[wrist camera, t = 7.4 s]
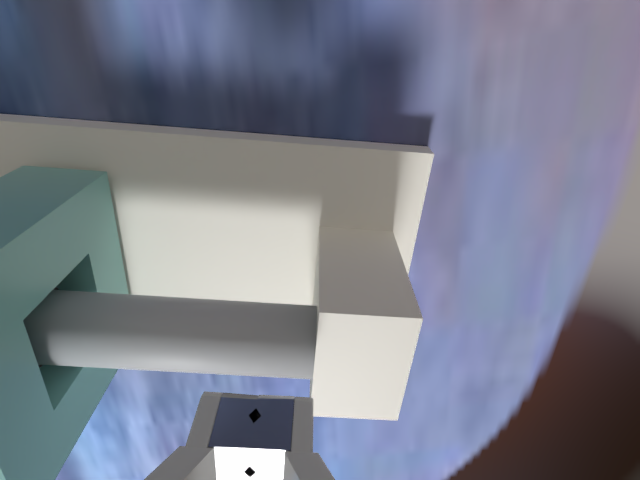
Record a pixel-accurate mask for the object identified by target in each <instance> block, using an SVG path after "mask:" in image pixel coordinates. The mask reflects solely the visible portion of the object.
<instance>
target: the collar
mask: <svg viewBox="0 0 640 480" xmlns="http://www.w3.org/2000/svg"><path fill="white" fill-rule="evenodd" d="M55 287H57V288H58V289H59V290H67V291H83V292H99V293H116V294H128V288H127V283H126V277H125V272H124V266H123V260H122V255H121V249H120V243H119V238H118V232H117V226H116V221H115V215H114V209H113V204H112V198H111V192H110V187H109V181H108V175H107V172H106V171H92V170H78V169H64V168H50V167H37V166H21V167H19V168H17V169H15V170H14V171H12V172H10V173H8V174H6V175H4V176H2V177H0V480H55V479H56V477H57V475H58V473H59V472H60V470H61V468H62V466H63V465H64V463H65V461H66V459H67V458H68V456H69V454H70V452H71V451H72V449H73V447H74V445H75V444H76V442H77V440H78V438H79V437H80V435H81V433H82V431H83V430H84V428H85V426H86V424H87V423H88V421H89V419H90V417H91V416H92V414H93V412H94V410H95V409H96V407H97V405H98V403H99V402H100V400H101V398H102V396H103V395H104V393H105V391H106V389H107V388H108V386H109V384H110V382H111V381H112V379H113V377H114V375H115V374H116V372H117V370H118V369H112V368H94V367H75V366H57V365H43V366H41V367H40V368H39V366H38V363H37V360H36V357H35V354H34V351H33V348H32V345H31V342H30V339H29V337H28V334H27V331H26V328H25V325H24V322H23V320H24V319H25V318H26V317H27V316H28V315H29V314H30V313H31V312H32V311H33V310H34V309H35V308H36V307H37V306H38V305H39V304H40V303H41V302H42V301H43V300H44V299H45V297H46V296H47V295H48V294H49V293H50V292H51V291H52V290H53V289H54V288H55Z"/></svg>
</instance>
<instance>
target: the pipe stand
mask: <svg viewBox="0 0 640 480" xmlns="http://www.w3.org/2000/svg"><path fill="white" fill-rule="evenodd" d="M433 157H434V153H433V152H432V151H431V150H430V148H429V147H428V146H416V145H403V144H390V143H377V142H364V141H351V140H338V139H325V138H312V137H299V136H286V135H273V134H260V133H247V132H234V131H221V130H208V129H195V128H182V127H169V126H156V125H143V124H130V123H117V122H104V121H91V120H78V119H65V118H52V117H39V116H26V115H13V114H0V177H2V176H4V175H6V174H8V173H10V172H12V171H14V170H15V169H17V168H19V167H21V166H37V167H50V168H64V169H78V170H92V171H106V172H107V175H108V181H109V187H110V192H111V198H112V204H113V209H114V215H115V221H116V226H117V232H118V238H119V243H120V249H121V255H122V260H123V266H124V272H125V277H126V283H127V288H128V294H116V293H99V292H83V291H67V290H59V289H58V288H57V287H55V288H54V289H53V290H52V291H51V292H50V293H49V294H48V295H47V296H46V297H45V299H44V300H43V301H42V302H41V303H40V304H39V305H38V306H37V307H36V308H35V309H34V310H33V311H32V312H31V313H30V314H29V315H28V316H27V317H26V318H25V319H24V320H23V322H24V325H25V328H26V331H27V334H28V337H29V339H30V342H31V345H32V348H33V351H34V354H35V357H36V360H37V363H38V366H39V368H40V367H41V366H43V365H57V366H75V367H94V368H112V369H131V370H149V371H168V372H186V373H205V374H223V375H242V376H260V377H279V378H298V379H310V398H313V401H314V402H313V416H317V417H337V418H357V419H377V420H396V421H397V420H398V416H399V412H400V408H401V404H402V400H403V396H404V392H405V388H406V384H407V380H408V376H409V372H410V368H411V365H412V361H413V357H414V353H415V349H416V345H417V341H418V337H419V333H420V329H421V325H422V321H423V317H422V315H421V312H420V309H419V306H418V303H417V300H416V297H415V294H414V291H413V288H412V286H411V283H410V280H409V277H408V273H409V269H410V264H411V259H412V255H413V250H414V245H415V241H416V236H417V231H418V227H419V222H420V217H421V213H422V208H423V203H424V199H425V194H426V189H427V185H428V180H429V175H430V171H431V166H432V161H433Z"/></svg>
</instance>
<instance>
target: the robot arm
mask: <svg viewBox="0 0 640 480" xmlns="http://www.w3.org/2000/svg"><path fill="white" fill-rule="evenodd" d="M313 402H314V401H313V398H308V397H295V398H294V396H272V395H259V396H257V395H245V394H232V393H218V392H204V393H203V395H202V396H201V399H200V402H199V405H198V408H197V411H196V415H195V418H194V421H193V424H192V427H191V430H190V434H189V437H188V440H187V443H186V446H179V447H178V448H177V449H176V450H175V451H174V452H173V453H172V454H171V455H170V456H169V457H168V458H167V459H166V460H165V461H163V462H162V463H161V464H160V465H159V466H158V467H157V468H156V469H155V470H154V471H153V472H152V473H151V474H150V475H148V476H147V477H146V478H145V479H144V480H335V479H334V477H333V476H332V474H331V473H330V471H329V469H328V468H327V466H326V465H325V463H324V462H323V460H322V458H321V457H320V455H319V454H318V453H313ZM293 411H294V412H293Z"/></svg>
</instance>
